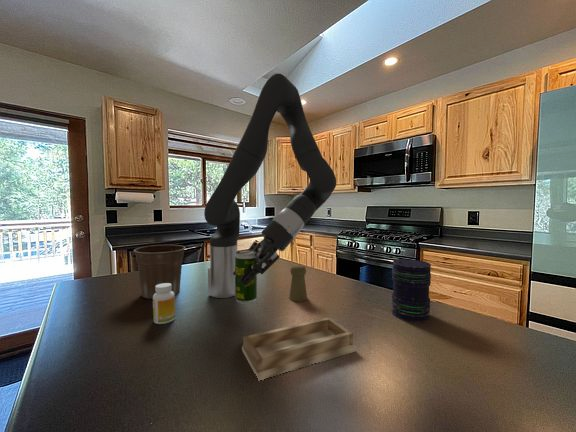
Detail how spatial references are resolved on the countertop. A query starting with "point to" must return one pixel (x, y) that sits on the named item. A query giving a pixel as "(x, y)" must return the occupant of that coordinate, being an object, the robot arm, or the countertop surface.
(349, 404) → the countertop surface
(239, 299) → the beer can
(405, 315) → the storage jar
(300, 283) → the cork
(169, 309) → the supplement bottle
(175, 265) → the plant pot
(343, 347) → the wooden rimmed tray
